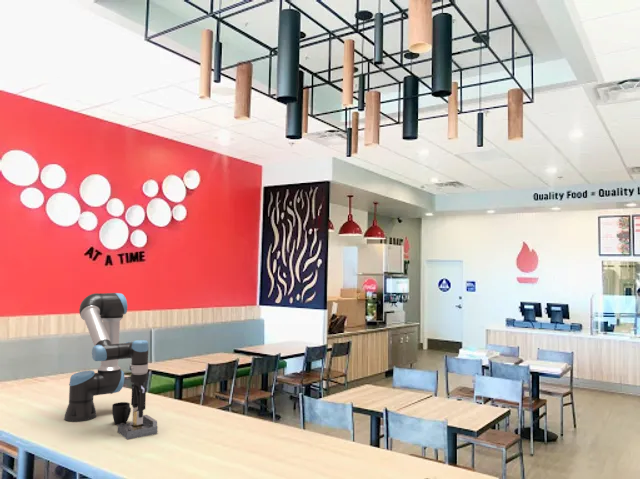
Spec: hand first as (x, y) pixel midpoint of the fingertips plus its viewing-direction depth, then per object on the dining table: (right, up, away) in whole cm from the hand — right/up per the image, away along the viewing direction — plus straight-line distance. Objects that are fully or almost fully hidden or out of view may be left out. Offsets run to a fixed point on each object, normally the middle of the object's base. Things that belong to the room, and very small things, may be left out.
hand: (137, 422), depth 246 cm
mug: (-13, -6, +14) cm, 20 cm away
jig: (0, -5, 0) cm, 5 cm away
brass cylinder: (0, -5, 0) cm, 5 cm away
